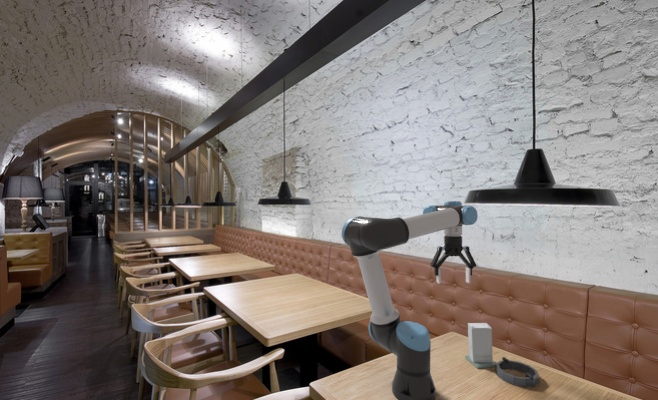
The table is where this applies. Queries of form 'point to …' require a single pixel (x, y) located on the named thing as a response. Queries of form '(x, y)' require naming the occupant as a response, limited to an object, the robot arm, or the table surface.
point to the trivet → (481, 363)
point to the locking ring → (530, 381)
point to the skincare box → (480, 342)
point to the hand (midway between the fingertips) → (453, 282)
